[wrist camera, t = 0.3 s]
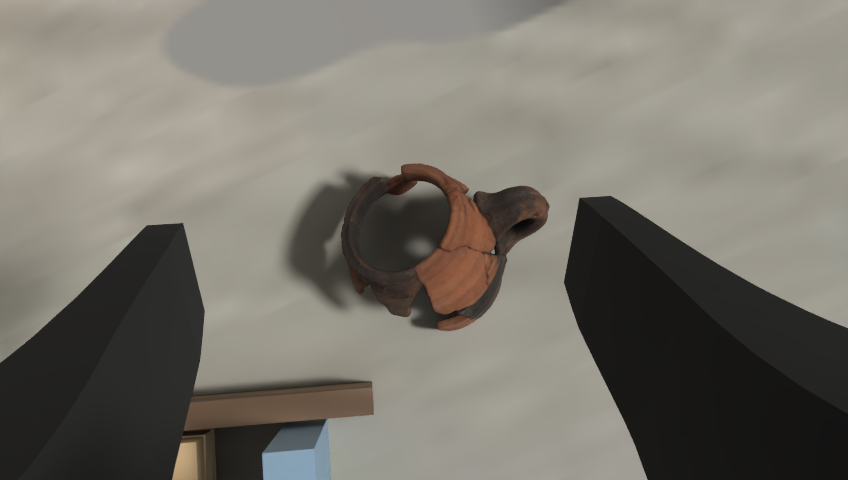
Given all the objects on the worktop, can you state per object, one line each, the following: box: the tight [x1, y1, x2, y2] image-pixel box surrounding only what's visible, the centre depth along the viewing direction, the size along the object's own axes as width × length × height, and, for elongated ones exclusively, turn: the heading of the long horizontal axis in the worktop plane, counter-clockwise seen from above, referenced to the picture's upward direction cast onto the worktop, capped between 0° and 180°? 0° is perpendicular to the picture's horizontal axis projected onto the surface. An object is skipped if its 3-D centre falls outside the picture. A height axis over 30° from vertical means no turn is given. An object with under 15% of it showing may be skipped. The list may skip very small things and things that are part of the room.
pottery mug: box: [341, 164, 549, 331], centre depth 39 cm, size 12×10×8 cm
